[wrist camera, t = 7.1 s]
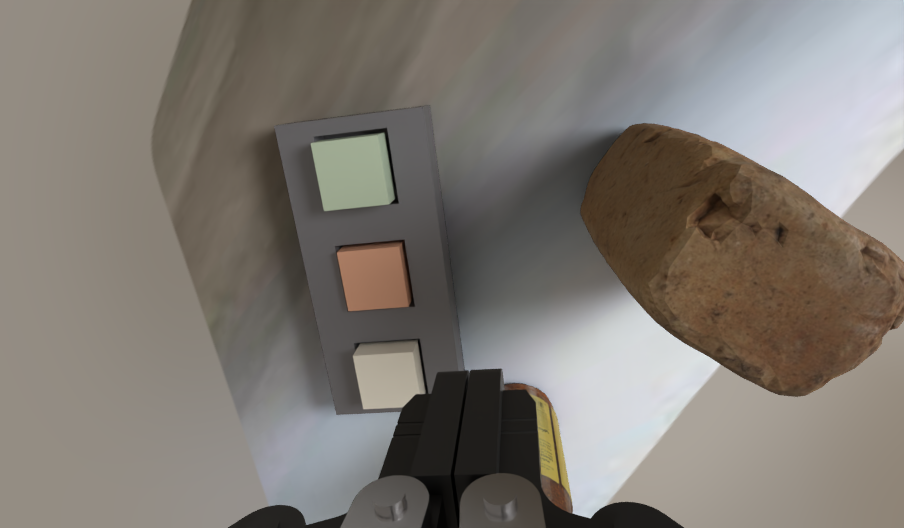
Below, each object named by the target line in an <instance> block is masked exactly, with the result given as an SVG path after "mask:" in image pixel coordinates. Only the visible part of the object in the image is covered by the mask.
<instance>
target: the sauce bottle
mask: <svg viewBox="0 0 904 528" xmlns="http://www.w3.org/2000/svg"><path fill="white" fill-rule="evenodd" d="M524 389H526V390H527V392H528V393H529V394H530V396H531V397H532V398H533V399H534V401H535V402H536V411H537V423H538V436H539V448H540V461H541V477H542V489H543V492H544V493H545V495H546V496H547V498H548V499H549V500H550V501H551V502H552V503H554V504H555V505H556V506H558V507H559V508H561V509H562V510H565V511H567V512H569V513H572V511H573V506H572V499H571V494H570V488H569V482H568V476H567V471H566V465H565V459H564V454H563V448H562V442H561V437H560V431H559V425H558V419H557V416H556V413H555V411H554V409H553V406H552V404H551V402H550V401H549V399H548V397H547V396H546V395H545V394H544V393H543V392H542V391H540V390H539V389H537V388H534V387H533V386H528V385H526V384H519V383H514V384H507V385H504V390H524Z"/></svg>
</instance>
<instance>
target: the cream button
mask: <svg viewBox="0 0 904 528" xmlns="http://www.w3.org/2000/svg"><path fill="white" fill-rule="evenodd" d="M353 360H354V365H355V370H356V375H357V380H358V385H359V390H360V395H361V400H362V405H363V409H381V408H401V407H404V406H405V405H406V404H407V403H408V402H409V401H410V400H411V399H412V398H413V396H414V395H415V394H425V393H426V390H425V383H424V377H423V370H422V364H421V358H420V351H419V345H418V340H403V341H388V342H373V343H360V345H359V346H358V348H357V350H356V351H355V353H354V355H353Z"/></svg>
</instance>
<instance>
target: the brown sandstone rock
mask: <svg viewBox="0 0 904 528" xmlns="http://www.w3.org/2000/svg"><path fill="white" fill-rule="evenodd" d="M581 216H582V219H583V221H584V223H585V225H586V227H587V230H588V232H589V233H590V235H591V237H592V239H593V242H594V243H595V245H596V246H597V248H598V249H599V251H600V253H601V254H602V255H603V257H604V258H605V260H606V262H607V263H608V264H609V266H610V267H611V268H612V270H613V271H614V272H615V274H616V275H617V276H618V278H619V279H620V281H621V282H622V284H623V285H624V286H625V287H626V289H627V290H628V292H629V293H630V294H631V295H632V296H633V297H634V298H635V300H636V301H637V302H638V303H639V304H640V305H641V306H642V307H643V309H644V310H645V311H646V312H647V313H648V314H649V315H650V316H651V317H652V318H653V319H654V320H655V321H656V322H657V323H658V324H659V325H660V326H662V327H663V328H664V329H665V330H667V331H668V332H669V333H670V334H672V335H673V336H675V337H676V338H678V339H679V340H681V341H682V342H684V343H685V344H687V345H689V346H690V347H692V348H694V349H696V350H698V351H700V352H701V353H703V354H705V355H707V356H709V357H710V358H712V359H713V360H715V361H717V362H718V363H720V364H721V365H723V366H724V367H726V368H727V369H729V370H731V371H732V372H734V373H736V374H737V375H739V376H740V377H742V378H744V379H746V380H749V381H751V382H753V383H755V384H757V385H759V386H760V387H762V388H764V389H766V390H768V391H770V392H773V393H775V394H778V395H784V396H795V397H798V396H805V395H807V394H809V393H811V392H813V391H815V390H817V389H819V388H821V387H823V386H824V385H825V384H826V383H827V382H828V381H830V380H831V379H833V378H835V377H837V376H840V375H842V374H844V373H846V372H848V371H850V370H852V369H854V368H856V367H857V366H858V365H859V364H860V363H862V362H863V361H864V360H865V359H866V358H868V357H869V356H870V355H871V354H873V353H874V352H875V351H876V350H877V349H878V348H879V346H880V345H881V344H882V337H883V336H884V335H885V334H886V333H887V332H888V331H889V330H892V329H896V328H898V327H899V326H900V324H901V323H902V322H903V321H904V262H903V261H902V260H901V259H900V258H899V257H898V256H897V255H896V254H895V253H893V252H892V251H891V250H890V249H889V248H887V246H885V245H884V244H883V243H881V242H880V241H878V240H876V239H875V238H873V237H871V236H869V235H868V234H866V233H864V232H863V231H861V230H859V229H857V228H855V227H853V226H851V225H850V224H848V223H847V222H845V221H844V220H842V219H841V218H840V217H838V216H837V215H835V214H834V213H833V212H831V211H830V210H828V209H827V208H826V207H824V206H823V205H822V204H821V203H819V202H818V201H817V200H816V199H814V198H813V197H812V196H811V195H809V194H808V193H807V192H805V191H804V190H802V189H801V188H799V187H798V186H797V185H795V184H794V183H792V182H791V181H789V180H788V179H786V178H785V177H783V176H781V175H779V174H777V173H775V172H773V171H771V170H769V169H767V168H765V167H763V166H761V165H759V164H758V163H756V162H754V161H752V160H750V159H749V158H747V157H745V156H743V155H741V154H739V153H737V152H736V151H734V150H732V149H730V148H728V147H726V146H724V145H722V144H720V143H718V142H713V141H710V140H708V139H706V138H704V137H701V136H699V135H697V134H693V133H689V132H686V131H683V130H680V129H675V128H671V127H668V126H663V125H658V124H647V123H642V124H635V125H631V126H629V127H628V128H627V129H626V130H625V131H624V132H623V133H622V134H621V135H620V137H619V138H618V139H617V140H616V141H615V142H614V143H613V144H612V146H611V147H610V148H609V150H608V151H607V153H606V154H605V155H604V157H603V158H602V159H601V161H600V162H599V164H598V165H597V166H596V168H595V169H594V171H593V173H592V175H591V177H590V179H589V182H588V185H587V188H586V192H585V196H584V200H583V202H582V205H581Z"/></svg>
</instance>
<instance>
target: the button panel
mask: <svg viewBox="0 0 904 528" xmlns="http://www.w3.org/2000/svg"><path fill="white" fill-rule="evenodd" d="M274 128H275V132H276V137H277V142H278V146H279V151H280V155H281V160H282V165H283V169H284V174H285V179H286V183H287V188H288V192H289V197H290V202H291V206H292V211H293V216H294V220H295V225H296V229H297V234H298V239H299V243H300V248H301V253H302V257H303V262H304V266H305V271H306V276H307V280H308V285H309V290H310V294H311V299H312V303H313V308H314V313H315V317H316V322H317V327H318V331H319V336H320V340H321V345H322V350H323V354H324V359H325V364H326V368H327V373H328V377H329V382H330V387H331V391H332V396H333V401H334V405H335V410H336V414H337V415H340V414H361V413H382V412H401V411H402V408H403V407H401V408H381V409H363V405H362V400H361V395H360V390H359V385H358V380H357V375H356V370H355V365H354V360H353V355H354V353H355V351H356V350H357V348H358V346H359V345H360V343H373V342H388V341H403V340H418V345H419V351H420V358H421V364H422V370H423V377H424V383H425V390H426V393H425V394H431V393H432V389H433V385H434V382H435V378H436V374H437V372H445V371H465V369H464V362H463V354H462V347H461V339H460V331H459V324H458V316H457V309H456V301H455V293H454V286H453V278H452V270H451V263H450V255H449V248H448V240H447V232H446V225H445V217H444V210H443V202H442V194H441V187H440V179H439V171H438V164H437V156H436V149H435V141H434V133H433V126H432V118H431V111H430V105H427V106H419V107H411V108H403V109H396V110H388V111H380V112H372V113H364V114H357V115H349V116H341V117H333V118H325V119H318V120H310V121H302V122H294V123H288V124H282V125H276V126H274ZM384 132H385V135H386V142H387V148H388V154H389V161H390V167H391V173H392V180H393V186H394V193H395V199H394V200H393V201H392V202H391V203H390V204H389V205H379V206H369V207H359V208H350V209H340V210H330V211H324V209H323V204H322V199H321V194H320V189H319V184H318V179H317V174H316V168H315V163H314V158H313V153H312V148H311V143H313V142H317V141H320V140H327V139H335V138H343V137H351V136H359V135H368V134H376V133H384ZM404 239H405V246H406V252H407V259H408V265H409V272H410V278H411V284H412V291H413V298H412V301H411V303H410V305H409V307H399V308H386V309H373V310H360V311H348V307H347V302H346V297H345V292H344V287H343V282H342V277H341V272H340V267H339V262H338V256H337V252H338V251H339V250H340V249H341V248H342V247H343V246H344V245H351V244H361V243H372V242H383V241H393V240H404Z"/></svg>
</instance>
